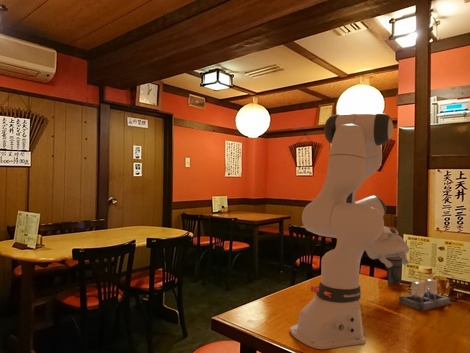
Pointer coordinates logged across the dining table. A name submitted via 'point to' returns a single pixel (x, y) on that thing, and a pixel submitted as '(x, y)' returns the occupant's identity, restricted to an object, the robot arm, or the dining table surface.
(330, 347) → the robot arm
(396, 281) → the beverage cup
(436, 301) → the grey divided tray
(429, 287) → the billet
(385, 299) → the dining table surface
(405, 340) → the dining table surface
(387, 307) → the dining table surface
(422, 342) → the dining table surface
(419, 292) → the billet
